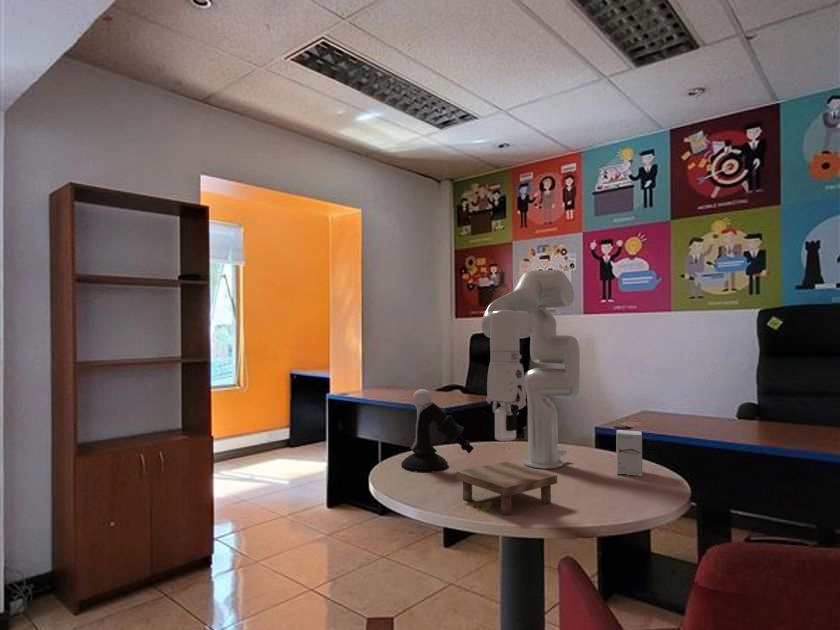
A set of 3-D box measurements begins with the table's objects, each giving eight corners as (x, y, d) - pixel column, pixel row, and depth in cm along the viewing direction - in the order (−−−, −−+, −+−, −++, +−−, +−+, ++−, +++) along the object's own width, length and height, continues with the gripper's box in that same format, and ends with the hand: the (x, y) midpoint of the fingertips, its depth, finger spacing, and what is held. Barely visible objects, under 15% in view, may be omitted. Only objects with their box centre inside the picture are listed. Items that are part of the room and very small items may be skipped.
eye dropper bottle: (518, 441, 131) (517, 393, 131) (496, 441, 130) (495, 393, 131) (514, 437, 135) (514, 391, 135) (493, 437, 135) (493, 391, 135)
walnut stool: (506, 486, 145) (505, 461, 145) (557, 503, 130) (557, 475, 130) (456, 498, 134) (456, 471, 134) (506, 518, 120) (506, 487, 120)
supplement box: (616, 475, 157) (615, 433, 157) (617, 469, 164) (616, 429, 164) (643, 477, 154) (642, 434, 154) (642, 471, 161) (641, 430, 161)
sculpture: (408, 459, 177) (408, 386, 178) (477, 463, 172) (476, 387, 173) (395, 470, 162) (395, 390, 163) (470, 475, 157) (469, 392, 158)
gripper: (539, 358, 129) (540, 432, 128) (493, 356, 143) (493, 423, 142) (518, 359, 125) (519, 436, 124) (472, 357, 138) (473, 426, 137)
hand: (505, 428), depth 133 cm, fingers closed on eye dropper bottle, 3 cm apart
